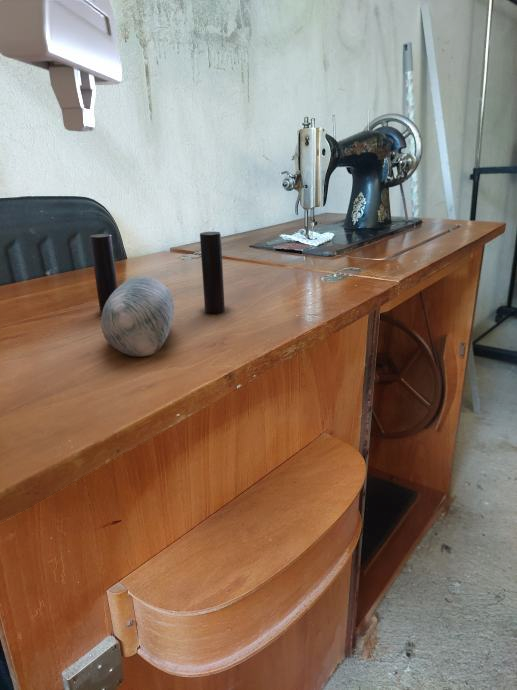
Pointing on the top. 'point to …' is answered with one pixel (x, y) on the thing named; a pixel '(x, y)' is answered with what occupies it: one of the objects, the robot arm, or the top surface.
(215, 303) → the goal posts
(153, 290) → the grey streaked stone
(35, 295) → the top surface
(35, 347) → the top surface
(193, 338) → the top surface
